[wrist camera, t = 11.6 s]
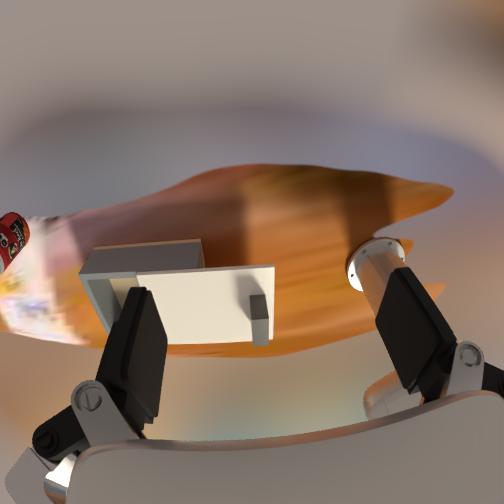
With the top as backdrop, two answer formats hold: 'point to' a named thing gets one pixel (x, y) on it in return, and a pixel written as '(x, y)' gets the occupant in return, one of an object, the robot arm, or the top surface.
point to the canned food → (12, 238)
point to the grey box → (132, 271)
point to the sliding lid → (214, 303)
